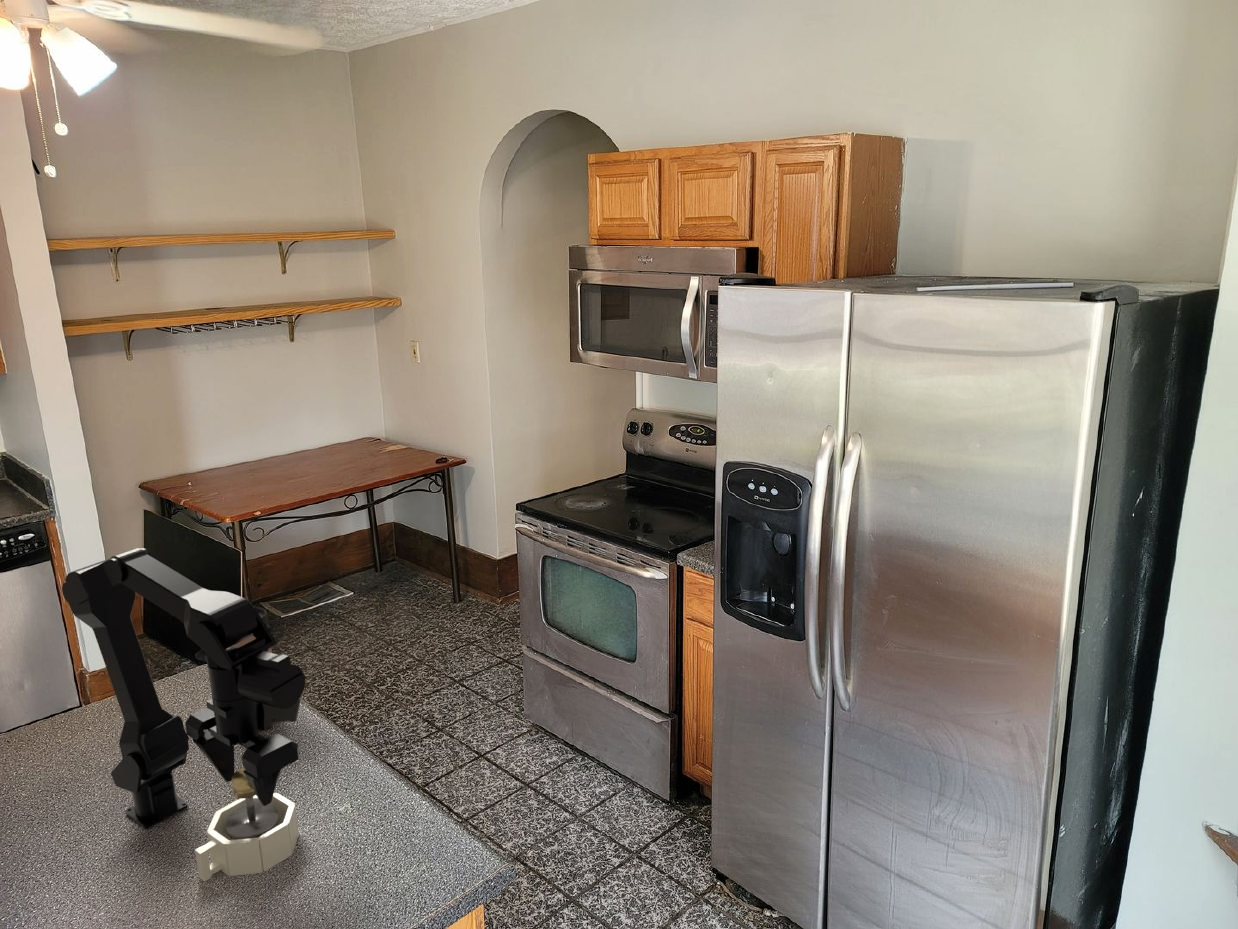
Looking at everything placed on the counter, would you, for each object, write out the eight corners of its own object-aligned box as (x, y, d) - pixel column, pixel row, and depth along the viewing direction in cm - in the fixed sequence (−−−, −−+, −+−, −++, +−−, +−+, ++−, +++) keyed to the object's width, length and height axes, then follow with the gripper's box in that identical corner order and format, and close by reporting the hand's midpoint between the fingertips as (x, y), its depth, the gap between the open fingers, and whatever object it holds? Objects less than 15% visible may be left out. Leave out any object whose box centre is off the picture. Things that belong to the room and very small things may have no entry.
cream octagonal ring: (181, 864, 123) (176, 833, 122) (268, 814, 133) (264, 785, 132) (223, 897, 117) (218, 865, 115) (311, 842, 127) (308, 812, 126)
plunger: (215, 827, 124) (208, 778, 122) (261, 802, 130) (255, 755, 128) (243, 847, 120) (236, 796, 118) (289, 820, 126) (283, 771, 124)
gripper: (328, 687, 121) (338, 787, 125) (250, 650, 132) (262, 744, 135) (252, 722, 112) (266, 829, 116) (176, 680, 123) (191, 779, 127)
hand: (248, 792), depth 124 cm, fingers open, 9 cm apart
